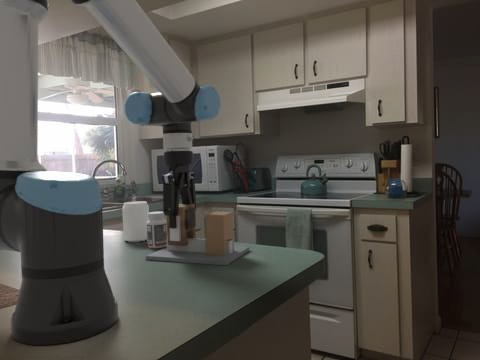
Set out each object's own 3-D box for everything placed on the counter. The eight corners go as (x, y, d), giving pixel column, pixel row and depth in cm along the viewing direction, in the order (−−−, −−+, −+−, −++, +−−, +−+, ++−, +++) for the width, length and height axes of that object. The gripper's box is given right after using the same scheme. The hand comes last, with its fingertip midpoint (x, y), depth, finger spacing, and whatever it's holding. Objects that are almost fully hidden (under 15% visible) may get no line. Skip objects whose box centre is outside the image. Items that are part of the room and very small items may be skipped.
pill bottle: (169, 244, 123) (168, 211, 123) (164, 248, 118) (163, 213, 117) (151, 244, 124) (149, 211, 124) (144, 248, 118) (143, 214, 118)
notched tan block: (187, 246, 106) (185, 207, 106) (168, 245, 108) (166, 206, 108) (197, 241, 112) (196, 204, 111) (179, 240, 114) (177, 204, 113)
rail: (226, 265, 97) (224, 218, 96) (145, 259, 105) (143, 216, 104) (249, 250, 112) (248, 209, 111) (177, 246, 120) (176, 208, 119)
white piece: (121, 239, 134) (120, 202, 133) (147, 236, 137) (145, 200, 137) (126, 243, 126) (124, 204, 126) (152, 240, 130) (151, 202, 129)
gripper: (172, 149, 99) (176, 246, 100) (207, 150, 116) (210, 232, 117) (145, 150, 101) (149, 245, 102) (183, 151, 119) (186, 231, 120)
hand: (181, 238), depth 110 cm, fingers closed on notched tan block, 6 cm apart
